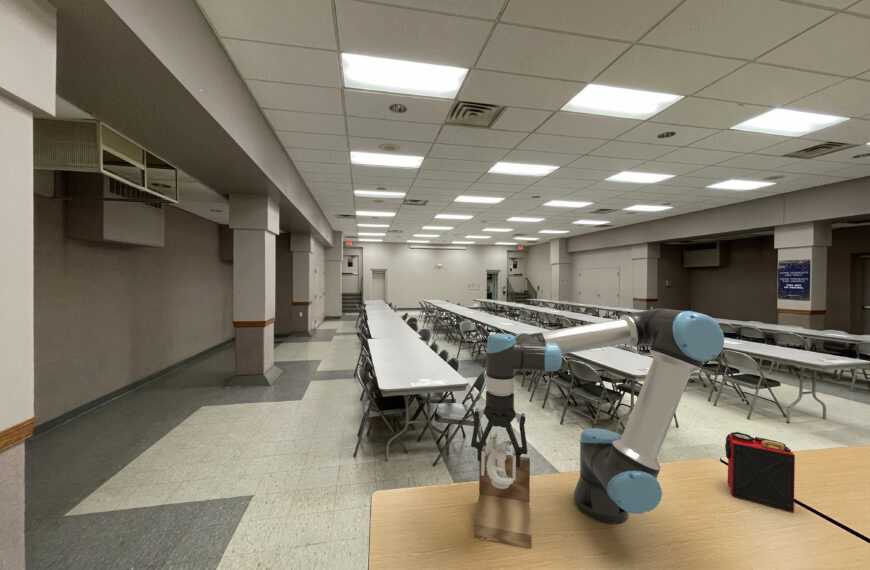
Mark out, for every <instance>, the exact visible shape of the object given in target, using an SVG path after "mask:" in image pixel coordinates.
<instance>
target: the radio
mask: <svg viewBox="0 0 870 570" xmlns="http://www.w3.org/2000/svg"><path fill="white" fill-rule="evenodd" d="M724 447H725V448H724V449H725V457H726V458H727V484H728V487H729V489H730V494H731V496H732V497H735V498H738V499H742V500H746V501H749V502H754V503H757V504H761V505H765V506H769V507H774V508H776V509H780V510H784V511H788V512H791V513H795V481H796V480H795V472H796V471H795V468H796V465H795V463H796V455H795V453H794V452H793V451H792V449H790V448H789V447H788V446H787V445H786V444H785V443H783V442H781V441H777V440H771V439H768V438H764V437H758V436H755V437H754V436H751V435H749V434H747V433H742V432H739V431H735V432H733V431H731V432H730V433H728V434H727V435H726V437H725V444H724Z"/></svg>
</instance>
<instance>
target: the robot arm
mask: <svg viewBox="0 0 870 570" xmlns="http://www.w3.org/2000/svg"><path fill="white" fill-rule="evenodd" d="M486 344H487V345H486V350H485V351H486V362H485V363H486V367H485V368H486V374H485V380H486V381H485V389H486V391H485V407H484V409H479V408H475V410H474V413H473V414H474V415H473V416H474V424H473V425H474V426H473V431H472V436H471V443H470V446H471V448H475V449H476V450H477V458H476V459H477V462H479V463H480V462H481V475H482V476H484V472H485V459H484V458H485V452H486V447H485V444H486V442H487V439H488V438H489V436H490V431H491V430H492V429H493V427H494V428H495V427H496V428H497V427H501V428H503V429H504V428H505V430H506V432H507V435H508V437H509V441H511V444H512V445H511V446H512V448H513V450H512V456H513V480H515V477H516V467H520V457H522V455H527V454H528V444H527V437H526V431H525V430H526V428H525V423H526V414H525V413H518V412H516V410H515V393H514V392H515V371H527V372H528V371H529V372H530V371H531V372H532V371H533V372H546V373H547V372H556V371H559V370H560V369H561V366H562V364H563V363H562V362H563V358H562V357H563V356H562V355H564V354H570V353H578V352H583V351H589V350H596V349H601V348H602V349H603V348H607V347H614V346H620V345H627V346H629V347H635V346H636V347H637V346H650V348H649V353H650V354H651V356H652V361H651V365H650V366H649V369H648V371H647V373H646V375H645V376H646V377H645V379H644V381H643V384H642V386H641V389H640V391H639V393H638V396H637V399H636V401H635V403H634V406H633V408H632V411H631V413H630V416H629V419H628V421H627V423H626V425H625V428H624V430H623V433H622V435H620V434H619V433H617V432H615V431H612V430H609V429H605V428H595V427H594V428H592V427H591V428H585V429H584V430H582V431H581V433H580V439H579V444H580V445H579V453H580V454H579V465H580V466H579V471H580V472H579V473H580V474H579V478H578V481H577V483H576V484H575V485H576V486H575V488H574V491H573V502H574V505H575V507H576V508H577V509H578V510H579V511H580V512H581V513H583V514H584V515H585V516H586V517H589V518H590V519H593V520H595V521H598V522H601V523H606V524H621V523H624V522H625V521H627V520H628V518H629V513H630V514H634V515H641V514H644V513H650V512H651V511H653V510H654V509H656V508H657V507H658V506H659V504H660V502H661V500H662V497H663V489H662V487H661V485H660V482H659V481H658V475H659V474H660V472H661V471H660V470H661V468H662V467H661V465H660V462H659V460H658V456H659V453H660V450H661V449H662V446H663V444H664V440H665V438H666V437H667V433H668V431H669V429H670V427H671V424H672V421H673V418H674V416H675V414H676V411H677V409H678V407H679V404H680V402H681V399H682V397H683V395H684V391H685V389H686V387H687V385H688V381H689V379H690V377H691V374H693V373H695V372H698V371H701V370H702V367H703V365H704V363H705V362H706V361H711V360H713V359H714V358H717V357H718V356H719V355H720V354H721V353H722V351H723V348H724V345H725V335H724V331H723V329H722V328H721V327H720V324H719V323H718V322H717V321H716V320H715V319H714V318H712V317H711V316H709V315H708V314H704V313H701V312H697V311H692V310H678V309H671V308H664V307H663V308H654V309H648V310H643V311H638V312H633V313H628V314H623V315H621V316H620V317H619V319H613V320H607V321H601V322H595V323H590V324H582V325H577V326H571V327H565V328H557V329H553V330H547V331H541V332H535V333H525V332H520V333H518V334H516V335H513V334H509V333H500V332H499V333H491V334H489V335H488V336H487V343H486ZM483 415H484V416H485V417H486V419H487V424H486V425H485V428H484V430H483V433H482V435H481V436H480V439H479V441H478V434H479V428H480V423H481V419H482V418H483ZM515 419H516V422H517V423H518V424H519V434H520V440H521V441H520V442H521V446H520V445H519V442H518V440H517V437H516V434H515V431H514V429H513V427H512V422H513V420H515Z"/></svg>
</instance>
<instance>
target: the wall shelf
mask: <svg viewBox="0 0 870 570" xmlns="http://www.w3.org/2000/svg"><path fill="white" fill-rule="evenodd" d="M485 453H486V451H485ZM489 454H490V452H489V453H488V455H486V456H485V472H484V476H482V475H481V462H480V461H479V463H478V464H479V466H478V467H479V468H478V469H479V471H478V472H479V476H478V477H479V478H478V479H479V483H478V485H479V486H478V489H479V490H478V500H477V505H476V512H475V518H474V523H473V538H475V537H476V539H480V538H483V539H482V540H486V539H489V540H488V541H491V540H493V541H492V542H496V541H497V542H498V543H501V542H502V543H503V544H508V545H512V544H513V545H512V546H517V545H518V547H522V548H528V549H532V545H533V544H532V541H533V538H532V535H533V534H532V533H533V532H532V517H531V504H530V501H531V500H530V491H531V489H530V488H531V487H530V485H531V484H530V483H531V482H530V481H531V480H530V478H531V477H530V476H531V475H530V474H531V458H530V457H525V456H520V467H516V477H515V480H513V483H512V484H510V486H509V487H508V488H505V489H500V488H497V487H495V486H493V485H492V483H491V480H492V478H491V479H490V477H489V475H487V473H488V471H487V461H488V456H489ZM506 458H507V459H506V460H505V470H506V475H507V476H509V477H511V478H512V479H513V454H511V455H510V454H509V455H508V454H506ZM496 466H497V464H496ZM502 543H501V544H502Z"/></svg>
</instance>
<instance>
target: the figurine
mask: <svg viewBox="0 0 870 570" xmlns="http://www.w3.org/2000/svg"><path fill="white" fill-rule="evenodd" d="M497 438H498V433H497V431H495V433H494V435H493V436H492V433H491V430H490V433H489V436H488V442H487V445H486V448H485V452H486V453H485V456H486V455H488V453H490V454H489V456H488V461H487V471H488V473H487V475H489V477H490V479H491V478H492V480H491V483H492V485H493V486H495V487H497V488H500V489H505V488H508V487H509V486H510V484H512V483H513V479H512V478H511V477H509V476H507V475H506V470H505V460H506V459H507V458H506V455H507V452H511V450H510V448H509V447H510V446H513V445H512V443H511V440H504V441H503V442H501V443H499V444H497ZM484 459H485V458H484ZM496 464H497V466H496Z"/></svg>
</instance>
